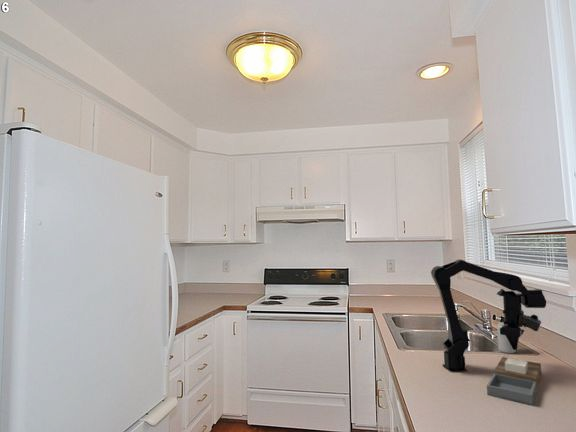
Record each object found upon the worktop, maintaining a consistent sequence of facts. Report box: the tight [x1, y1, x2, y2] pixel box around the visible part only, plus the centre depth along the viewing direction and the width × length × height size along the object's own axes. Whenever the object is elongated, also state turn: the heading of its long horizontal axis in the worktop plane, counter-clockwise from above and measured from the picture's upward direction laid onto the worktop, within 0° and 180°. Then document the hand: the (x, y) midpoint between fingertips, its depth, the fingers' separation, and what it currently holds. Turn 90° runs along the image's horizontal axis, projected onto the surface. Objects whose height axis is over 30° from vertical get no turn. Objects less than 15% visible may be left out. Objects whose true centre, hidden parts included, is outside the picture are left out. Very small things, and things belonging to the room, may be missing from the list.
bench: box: [493, 356, 542, 392], centre depth 126 cm, size 16×12×4 cm
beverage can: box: [496, 321, 517, 354], centre depth 153 cm, size 6×6×12 cm
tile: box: [505, 357, 529, 374], centre depth 124 cm, size 6×6×2 cm
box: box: [486, 373, 537, 406], centre depth 115 cm, size 12×12×3 cm
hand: (515, 349), depth 132 cm, fingers closed
